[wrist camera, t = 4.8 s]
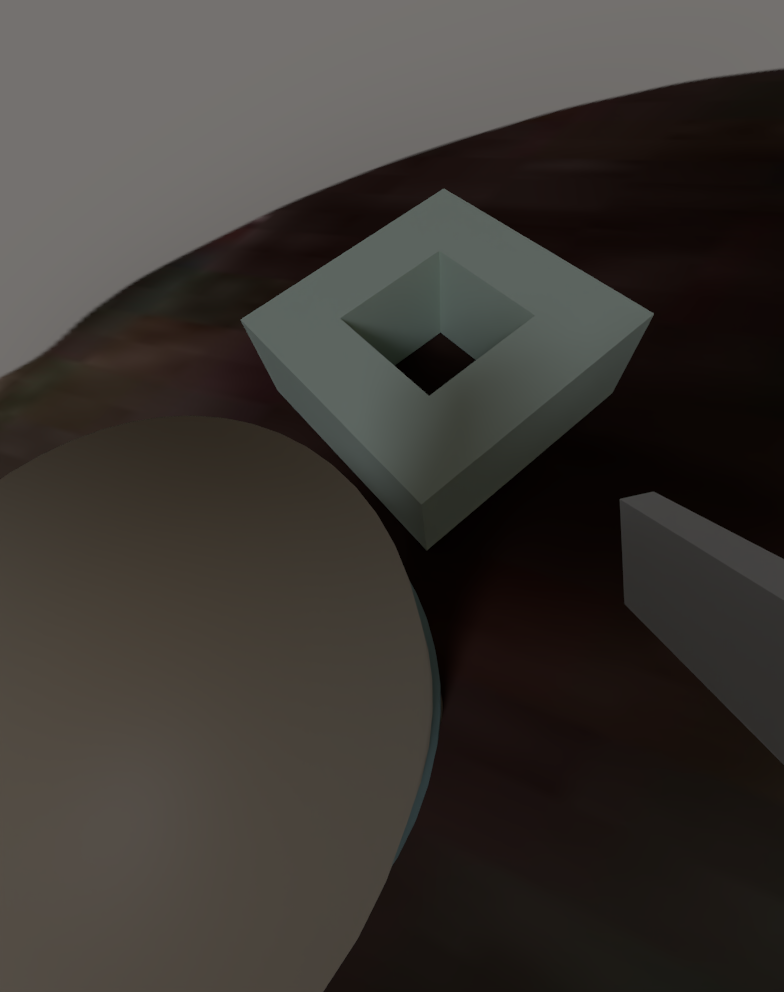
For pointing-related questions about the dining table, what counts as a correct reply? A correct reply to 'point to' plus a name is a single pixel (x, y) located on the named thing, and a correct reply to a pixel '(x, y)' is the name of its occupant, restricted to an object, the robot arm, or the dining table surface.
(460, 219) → the grey square-hole block
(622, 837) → the dining table surface
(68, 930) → the tan cylinder
